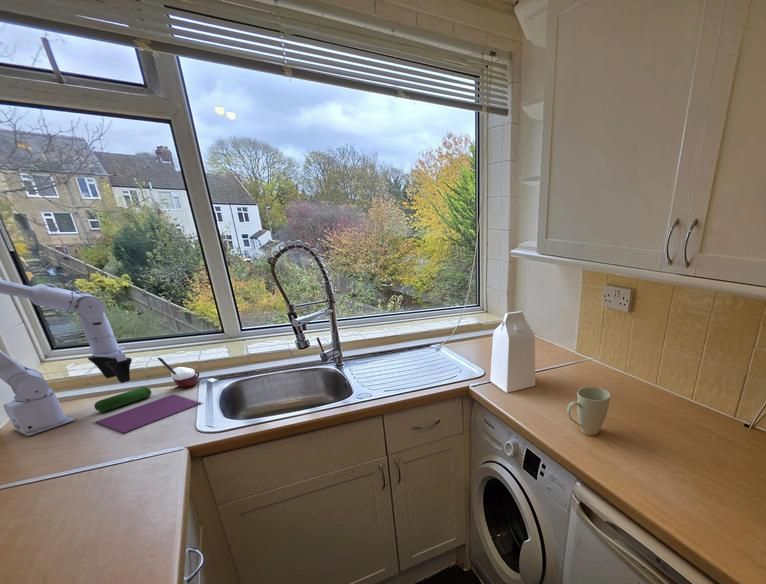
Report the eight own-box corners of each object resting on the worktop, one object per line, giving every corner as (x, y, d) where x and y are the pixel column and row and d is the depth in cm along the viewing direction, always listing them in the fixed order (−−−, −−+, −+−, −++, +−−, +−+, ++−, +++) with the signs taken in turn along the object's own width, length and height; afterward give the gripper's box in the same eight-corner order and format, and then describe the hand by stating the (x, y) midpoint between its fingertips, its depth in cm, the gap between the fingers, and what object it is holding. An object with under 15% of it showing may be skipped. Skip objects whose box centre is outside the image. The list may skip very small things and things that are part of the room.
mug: (576, 419, 122) (580, 383, 117) (609, 428, 118) (614, 390, 113) (563, 436, 113) (567, 397, 108) (598, 445, 109) (603, 406, 104)
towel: (123, 433, 110) (123, 432, 110) (95, 422, 115) (95, 421, 115) (201, 403, 127) (200, 402, 126) (173, 395, 132) (173, 394, 131)
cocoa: (200, 379, 143) (190, 347, 138) (204, 384, 139) (194, 352, 134) (166, 387, 137) (154, 353, 132) (170, 393, 133) (158, 358, 128)
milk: (517, 374, 153) (519, 307, 143) (535, 385, 145) (538, 314, 134) (490, 381, 147) (490, 310, 137) (506, 392, 139) (508, 318, 128)
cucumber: (100, 414, 119) (96, 404, 117) (94, 412, 120) (89, 401, 119) (155, 396, 131) (151, 386, 129) (149, 394, 132) (145, 384, 130)
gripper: (131, 336, 118) (147, 378, 123) (103, 329, 123) (120, 370, 129) (101, 342, 112) (119, 387, 117) (73, 335, 117) (92, 378, 123)
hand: (118, 379), depth 123 cm, fingers open, 7 cm apart
